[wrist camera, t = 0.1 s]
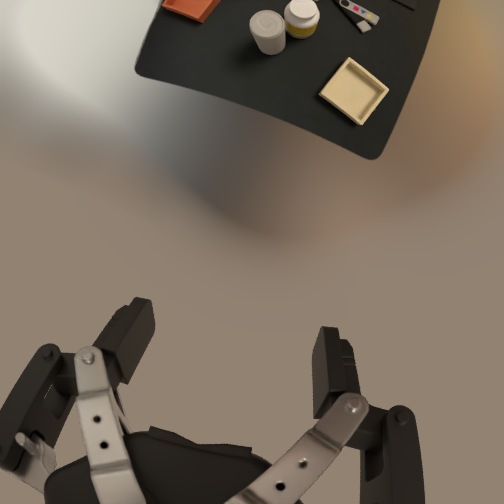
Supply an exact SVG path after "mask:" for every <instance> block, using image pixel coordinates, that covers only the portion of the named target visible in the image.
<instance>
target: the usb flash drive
mask: <svg viewBox="0 0 504 504" xmlns="http://www.w3.org/2000/svg"><path fill="white" fill-rule="evenodd" d="M334 1H335V2H336V3H337V4H338V5H339V6H340V7H341V9H342V10H343V11H344V12H345V13H346V14H347V16H348V17H349V18H350V19H351V20H352V21H353V23H354V24H355V25H357V26H358V27H359V29H360V30H361V31H362V32H363V33H364V32H366V31H368V30H370V29H371V27H370V26H369V25H368V24H367V22H369V23H371V24H372V25H376V24H377V22H378V20H379V17H378V16H376V15H375V14H373V13H371V12H369V11H368V10H366V9H364V8H362V7H360V6H358V5H357V4H355V3H353V2H351V1H349V0H334ZM366 21H367V22H366Z"/></svg>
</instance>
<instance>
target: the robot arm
mask: <svg viewBox="0 0 504 504" xmlns="http://www.w3.org/2000/svg"><path fill="white" fill-rule="evenodd" d="M154 331H155V319H154V313H153V307H152V302H151V300H149V299H144V298H139V297H135V298H134V299H133V301H132V302H131V303H130V305H129V306H127V305H124V306H123V307H121V308H120V309H118V310H117V311H116V312H115V314H114V315H113V316H112V319H111V320H110V321H109V322H108V324H107V325H106V326H105V328H104V329H103V331H102V332H101V334H100V335H99V336H98V338H97V339H96V341H95V342H94V344H93V345H92V346H87V347H84V348H82V349H80V350H79V351H78V352H77V353H61V351H60V349H59V347H58V346H56V345H55V344H46V345H43V346H41V347H40V348H39V349H38V350H37V352H36V353H35V355H34V356H33V358H32V359H31V361H30V362H29V364H28V365H27V367H26V368H25V370H24V371H23V373H22V374H21V376H20V378H19V379H18V381H17V382H16V384H15V386H14V388H13V389H12V391H11V393H10V394H9V396H8V398H7V399H6V401H5V403H4V404H3V407H2V408H1V410H0V468H1V469H2V470H4V471H5V472H7V473H9V474H10V475H12V476H13V477H15V478H17V479H18V480H21V481H23V482H24V483H26V484H28V485H30V486H32V487H33V488H35V489H36V490H38V491H39V492H41V493H43V494H44V499H45V504H303V503H302V502H301V500H300V499H299V498H300V497H301V496H302V495H303V494H304V493H305V492H306V491H307V490H308V489H309V488H310V487H311V486H312V485H313V484H314V482H315V481H316V480H317V479H318V478H319V477H320V476H321V475H322V474H323V472H324V471H325V470H326V469H327V468H328V466H329V465H330V464H331V463H332V462H333V461H334V459H335V458H336V457H337V456H338V454H339V453H340V452H341V450H342V448H343V447H344V446H348V447H352V448H355V449H359V450H360V470H361V472H360V504H425V494H424V493H425V492H424V479H423V468H422V460H421V452H420V444H419V438H418V431H417V426H416V420H415V416H414V413H413V412H412V411H411V410H410V409H409V408H407V407H405V406H402V405H397V406H394V407H392V408H391V409H390V410H389V411H388V410H384V409H381V408H377V407H374V406H372V405H370V404H368V402H367V400H366V398H364V397H363V396H362V395H361V392H360V386H359V380H358V374H357V369H356V366H355V365H356V364H355V359H354V353H353V348H352V346H351V345H350V343H349V342H348V341H347V340H345V339H340V337H339V331H338V328H335V327H324V326H322V327H321V328H320V331H319V334H318V337H317V340H316V343H315V346H314V349H313V354H312V376H313V377H312V378H313V417H314V419H320V420H319V421H318V422H317V423H316V424H315V425H314V427H313V428H311V429H309V430H308V431H307V432H306V433H305V434H304V435H303V436H302V437H301V438H300V439H299V440H298V441H297V442H296V443H295V444H294V445H293V446H292V447H291V448H290V449H289V450H288V451H287V452H286V453H285V454H284V455H283V456H282V457H281V458H280V459H279V460H277V461H276V462H275V463H274V464H273V465H272V464H271V463H269V462H268V461H267V460H265V459H263V458H262V457H260V456H258V455H255V454H253V453H251V451H252V447H244V446H237V445H231V444H196V443H194V442H192V441H190V440H188V439H185V438H184V437H182V436H180V435H178V434H176V433H174V432H170V431H167V430H163V429H159V428H156V427H153V426H150V429H149V431H140V432H134V433H133V431H132V429H131V427H130V425H129V423H128V420H127V417H126V414H125V411H124V408H123V404H122V401H121V398H120V394H119V391H118V388H117V387H118V385H119V383H120V382H121V383H124V384H128V383H129V381H130V379H131V377H132V375H133V373H134V371H135V369H136V367H137V365H138V363H139V361H140V359H141V358H142V356H143V354H144V352H145V350H146V348H147V346H148V344H149V342H150V340H151V338H152V336H153V334H154ZM51 385H52V386H51ZM50 386H51V388H50ZM49 388H50V389H49ZM48 390H49V391H48ZM47 392H48V393H47ZM46 394H47V395H46ZM45 395H46V397H45ZM75 400H76V407H77V412H78V418H79V422H80V427H81V432H82V436H83V441H84V444H85V449H86V452H87V455H86V456H84V457H82V458H80V459H78V460H76V461H74V462H72V463H70V464H67V465H65V466H63V467H61V468H59V469H56V470H55V467H56V465H57V463H56V456H55V453H54V450H53V449H54V446H55V444H56V441H57V439H58V437H59V435H60V432H61V430H62V428H63V426H64V423H65V421H66V419H67V417H68V415H69V413H70V411H71V408H72V406H73V404H74V402H75Z"/></svg>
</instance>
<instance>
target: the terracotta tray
mask: <svg viewBox="0 0 504 504" xmlns="http://www.w3.org/2000/svg"><path fill="white" fill-rule="evenodd" d="M220 1H221V0H165V1H164V2H163V4H162V6H163V7H165V8H166V9H167V10H170V11H173V12H176V13H178V14H181V15H184V16H186V17H189V18H192V19H194V20H196V21H199V22H201V23H203V22H204V21H205V20H206V18H207V17H208V16H209V15H210V13H211V12H212V11H213V10H214V8H215V7H216V6H217V5H218V3H219V2H220Z"/></svg>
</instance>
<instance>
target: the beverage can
mask: <svg viewBox="0 0 504 504" xmlns="http://www.w3.org/2000/svg"><path fill="white" fill-rule="evenodd" d="M249 26H250V30H251V32H252V34H253V37H254V39H255V41H256V43H257V45H258V47H259V49H260V50H261V51H262V52H263V53H265V54H268V55H275V54H278V53H280V52H281V51H282V50H283V49H284V47H285V22H284V20H283V18H282V17H281V16H280V15H279V14H278V13H276V12H274V11H270V10H264V11H260V12H257V13H256V14H254V15H253V16H252V18H251V20H250V25H249Z"/></svg>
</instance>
